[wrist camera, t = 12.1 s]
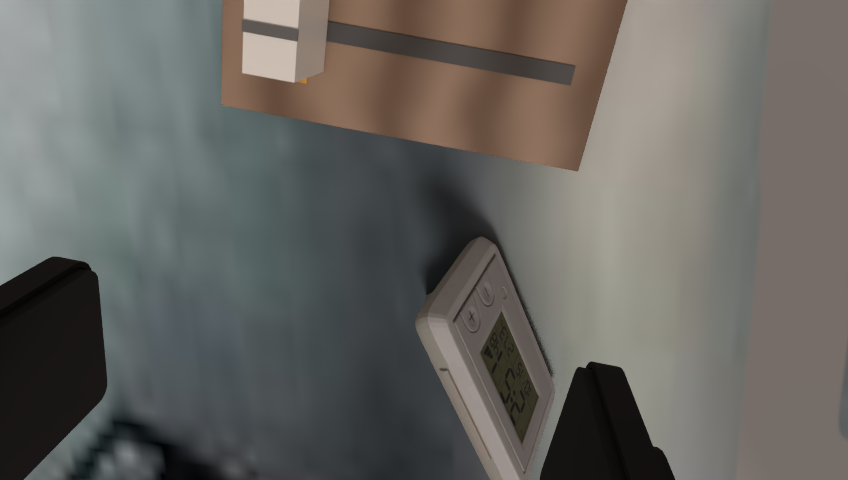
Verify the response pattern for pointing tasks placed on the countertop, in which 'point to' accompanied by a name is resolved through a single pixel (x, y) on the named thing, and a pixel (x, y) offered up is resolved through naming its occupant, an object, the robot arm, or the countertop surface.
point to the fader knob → (284, 38)
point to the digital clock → (488, 360)
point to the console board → (448, 73)
